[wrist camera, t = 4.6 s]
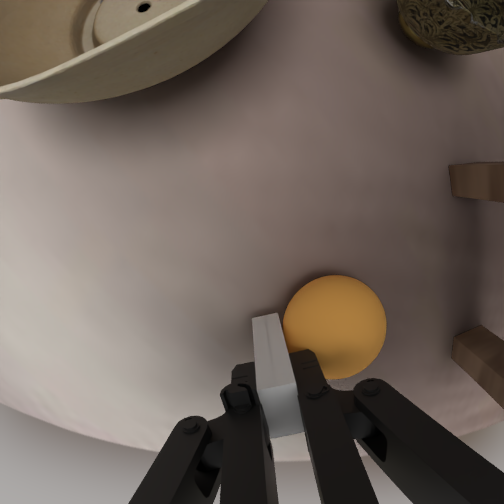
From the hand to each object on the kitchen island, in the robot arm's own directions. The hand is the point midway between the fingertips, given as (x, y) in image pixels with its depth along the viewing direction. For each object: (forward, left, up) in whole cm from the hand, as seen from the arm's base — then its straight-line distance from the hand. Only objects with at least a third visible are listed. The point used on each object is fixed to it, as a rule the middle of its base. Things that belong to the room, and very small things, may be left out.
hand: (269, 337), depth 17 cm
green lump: (-14, -17, -2) cm, 22 cm away
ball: (-3, 0, +1) cm, 4 cm away
